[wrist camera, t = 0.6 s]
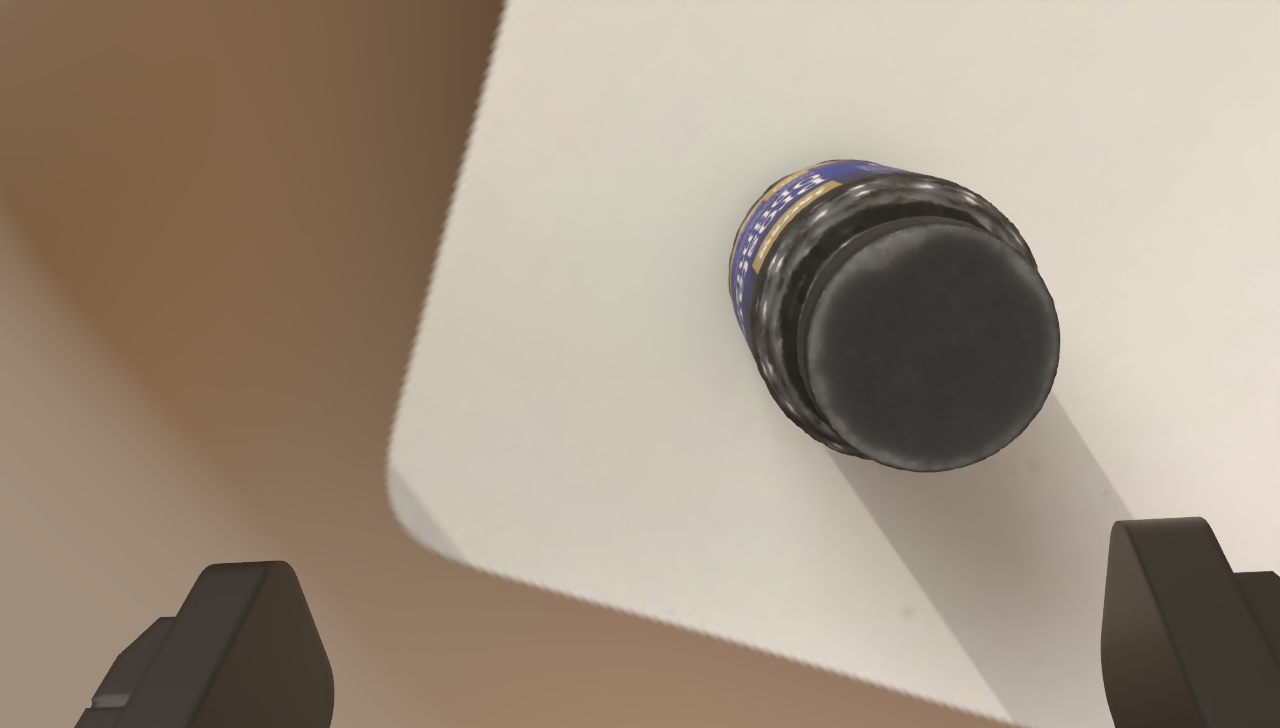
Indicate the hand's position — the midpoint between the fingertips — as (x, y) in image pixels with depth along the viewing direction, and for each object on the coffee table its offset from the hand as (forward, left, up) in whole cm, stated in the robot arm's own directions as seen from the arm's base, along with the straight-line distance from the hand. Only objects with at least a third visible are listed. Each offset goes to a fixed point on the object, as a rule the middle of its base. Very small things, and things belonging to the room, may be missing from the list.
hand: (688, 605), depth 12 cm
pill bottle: (+3, +4, -21) cm, 22 cm away
